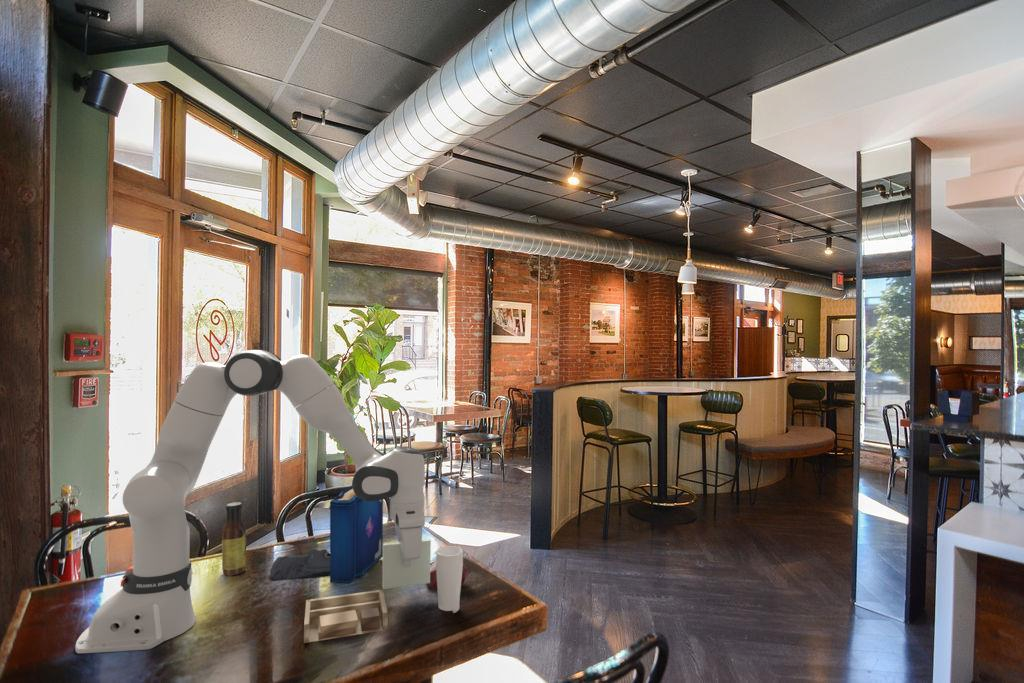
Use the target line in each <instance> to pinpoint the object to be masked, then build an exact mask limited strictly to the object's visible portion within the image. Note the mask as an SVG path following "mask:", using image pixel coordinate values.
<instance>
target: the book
mask: <svg viewBox="0 0 1024 683" xmlns="http://www.w3.org/2000/svg"><path fill="white" fill-rule="evenodd" d="M329 516H330V517H329V553H330V576H329V583H335V584H351V583H352V582H354V581H355V580H357V579H360V578H361V577H362V576H363V575H364V574H366V573H367V572H368V571H369V570H370V569H372V568H373V567H374V566H375V565H376V564H377V563H378V562H379V561H380V560H381V559H383V543H384V541H383V540H384V537H383V536H384V499H382V500H377V501H364V500H362V499H360V498H359V497H357V496H356V494H355V493H354V491H353V488H352V485H350V486H349V487H347V488H346V489H344V490H342V491H341V492H340V493H339V495H338V496H335V497H333V499H331V500H330V501H329Z"/></svg>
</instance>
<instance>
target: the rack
mask: <svg viewBox="0 0 1024 683" xmlns="http://www.w3.org/2000/svg"><path fill="white" fill-rule="evenodd" d="M372 608H378V610H379V615H380V624H379V629H374V630H368V631H361V610H365V609H372ZM351 610H356V614H357V618H358V626H357V627H356V634H350V635H343V636H337V637H331V638H324V639H318V632H319V619H320V616H322V615H328V614H334V613H339V612H345V611H351ZM388 618H389V617H388V608H387V604H386V599H385V595H384V589H377V590H370V591H361V592H355V593H348V594H340V595H339V594H338V595H333V596H324V597H318V598H311V599H310V598H309V599H306V600H305V610H304V622H303V623H304V624H303V644H305V643H306V644H308V643H314V642H319V641H320V642H321V641H325V640H332V639H339V638H345V637H352V636H357V635H364V634H370V633H375V632H376V633H377V632H383V631H388Z"/></svg>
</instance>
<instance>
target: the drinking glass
mask: <svg viewBox="0 0 1024 683" xmlns="http://www.w3.org/2000/svg"><path fill="white" fill-rule="evenodd" d="M463 552H464V551H463V549H462V548H461V547H459V546H455V545H450V546H443V547H440V548H437V550H436V554H435V555H436V558H435V560H436V575H437V589H436V590H437V602H438V603H437V604H438V606H437V607H438V609H439V610H441V611H445V612H450V611H452V613H453V614H455V613H457V612H458V611H459V610H460V598H461V590H462V585H461V580H462V570H463V563H464V554H463Z"/></svg>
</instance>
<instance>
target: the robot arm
mask: <svg viewBox="0 0 1024 683" xmlns="http://www.w3.org/2000/svg"><path fill="white" fill-rule="evenodd" d="M190 372H191V373H189V375H188V376H187V378H186V379H185V381H184V382H183V384H182V385H181V387H180V389H179V390H178V391H177V395H176V396H175V398H174V400H173V402H172V405H171V407H170V408H169V411H168V413H167V415H166V418H165V419H164V421H163V423H162V426H161V428H160V429H159V436H158V441H157V443H156V448H155V450H154V453H153V455H152V458H151V460H150V462H149V463H148V464H147V465H146V466H145V467H144V468H143V469H142V470H140V471H138V472H137V473H136V474H134V475H133V476H132V477H131V479H129V481H128V483H127V485H126V487H125V489H124V490H123V494H122V504H123V507H124V509H125V510H126V511H127V513H128V517H129V523H130V527H131V531H132V539H133V540H132V541H133V545H132V547H133V550H132V554H133V555H132V565H131V566H129V567H128V568H127V569H126V570H125V573H124V575H123V576H122V579H121V580H120V587H122V589H120V590H118V591H117V592H116V593H115V594H113V595H112V596H111V597H110V598H108V599H107V600H105V601H104V602H103V603H102V604H101V605H100V606H99V607H98V609H97V610H95V613H94V614H93V615H92V619H91V620H90V621H91V622H90V625H89V626H88V627H87V628H85V630H84V631H83V632H82V633H81V634H80V635H79V637H78V638H77V640H76V642H75V647H74V650H75V653H77V654H92V653H95V654H96V653H109V652H110V653H112V652H113V653H114V652H127V651H141V650H142V651H143V650H144V651H145V650H151V649H153V648H155V647H156V646H158V645H160V644H161V643H163V642H165V641H167V640H170V639H173V638H175V637H177V636H179V635H182V634H183V633H185V632H187V631H188V630H189V629H191V628H192V627H193V626H194V625H195V624H196V621H197V618H196V615H195V611H194V607H193V604H192V597H191V585H192V580H193V579H192V578H193V576H192V575H193V569H192V561H191V560H190V550H191V549H190V548H191V547H190V544H191V542H190V541H191V540H190V539H191V531H190V530H191V529H190V527H189V524H188V520H187V516H186V508H185V501H186V498H187V495H189V494H190V492H192V491H193V489H194V488H195V486H196V483H197V481H198V478H199V476H200V473H201V471H202V468H203V467H204V463H205V460H206V458H207V455H208V453H209V450H210V447H211V444H212V441H213V440H214V438H215V435H216V433H217V431H218V429H219V426H220V424H221V422H222V420H223V417H225V414H226V411H227V409H228V407H229V405H230V403H231V401H232V399H233V398H234V397H235V396H236V395H241V396H247V397H252V396H253V397H254V396H259V395H260V396H261V395H265V394H266V393H268V392H271V391H272V392H273V391H274V390H275V391H279V392H281V393H282V394H284V396H286V398H287V399H288V400H289V402H290V403H291V405H292V406H293V408H294V409H295V411H296V412H297V413H298V415H299V416H300V417H301V419H302V420H303V421H304V422H305V423H306V424H307V425H308V426H310V427H311V428H312V429H314V430H317V431H319V432H320V431H321V432H323V433H326V434H329V435H331V437H334V438H335V440H337V441H338V443H339V444H340V446H341V447H342V448H343V449H344V451H345V452H346V453H347V455H348V457H349V458H350V459H351V460H352V462H353V464H354V466H355V473H354V474H353V477H352V481H351V486H352V488H353V491H354V493H355V494H356V496H357V497H359V498H360V499H362V500H364V501H377V500H382V499H383V500H386V499H389V519H390V520H392V521H393V522H394V526H395V527H394V528H395V529H394V530H395V535H396V540H397V542H399V543H400V547H401V550H402V553H403V555H404V559H403V564H404V567H405V568H406V567H410V566H411V560H413V559H418V558H419V556H420V552H421V542H422V539H423V527H424V526H425V525H426V516H425V492H424V486H425V483H426V466H425V459H424V458H425V457H424V455H423V454H422V452H421V451H420V450H418V449H416V448H413V447H410V446H396V447H394V448H393V449H392V450H390V451H389V452H388V453H385V454H384V453H383V452H381V451H380V450H378V449H377V448H375V447H374V446H373V444H371V442H370V441H369V439H368V438H367V436H366V435H365V433H363V431H362V429H360V427H359V426H358V424H357V423H356V422H355V419H354V418H353V415H352V414H351V412H350V409H349V408H348V405H347V404H346V401H345V399H344V397H343V395H342V394H341V392H340V390H339V388H338V387H337V385H336V384H335V382H334V381H333V379H332V378H331V377H330V375H329V374H328V373H327V372H326V371H325V369H324V368H323V367H322V366H321V365H320V364H319V363H318V362H317V361H316V360H315V359H314V357H312V356H310V355H308V354H297V355H294V356H292V357H289V358H288V359H285V360H282V359H281V358H280V357H279V356H278V355H276V354H275V353H273V352H271V351H266V350H264V349H251V350H243V351H240V352H238V353H235V354H234V355H232V356H231V357H230V358H229V360H228V361H227V362H226V364H221V363H218V362H212V361H211V362H210V361H208V362H201V363H199V364H197V366H195V367H194V368H193V370H192V371H190Z"/></svg>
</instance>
